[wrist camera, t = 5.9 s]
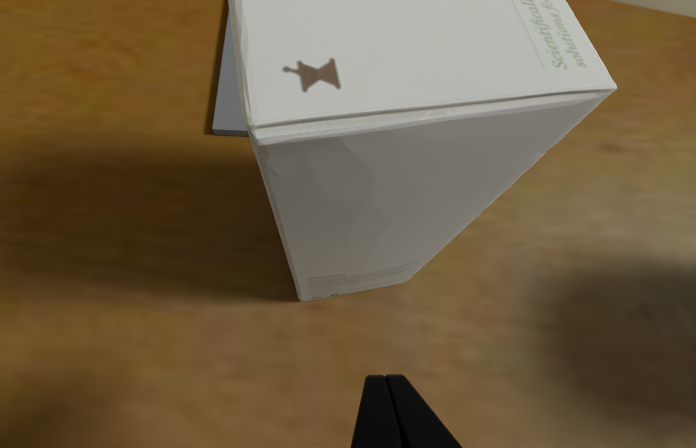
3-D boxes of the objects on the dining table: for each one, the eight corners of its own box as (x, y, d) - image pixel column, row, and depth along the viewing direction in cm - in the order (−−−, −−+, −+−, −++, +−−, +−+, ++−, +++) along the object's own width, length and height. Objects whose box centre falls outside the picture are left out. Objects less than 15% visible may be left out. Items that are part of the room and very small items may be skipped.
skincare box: (405, 285, 20) (652, 109, 6) (290, 305, 19) (228, 155, 5) (374, 158, 23) (487, -181, 8) (272, 170, 22) (196, -194, 7)
